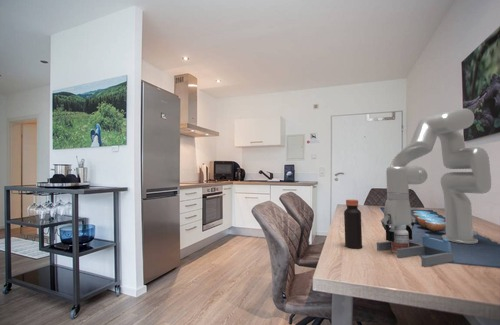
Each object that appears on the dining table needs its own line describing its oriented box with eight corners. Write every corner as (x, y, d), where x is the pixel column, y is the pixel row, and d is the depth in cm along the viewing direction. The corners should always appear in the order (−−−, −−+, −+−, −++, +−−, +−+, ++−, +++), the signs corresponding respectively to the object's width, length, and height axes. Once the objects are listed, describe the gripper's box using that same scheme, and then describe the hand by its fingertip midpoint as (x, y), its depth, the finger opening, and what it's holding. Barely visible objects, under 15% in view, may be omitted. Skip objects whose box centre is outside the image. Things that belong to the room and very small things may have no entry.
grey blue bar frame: (402, 246, 104) (402, 228, 105) (453, 261, 86) (452, 239, 86) (377, 250, 99) (376, 231, 100) (425, 266, 81) (424, 244, 81)
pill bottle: (394, 248, 101) (393, 221, 102) (411, 252, 96) (410, 224, 97) (388, 251, 97) (387, 223, 98) (406, 255, 92) (404, 226, 93)
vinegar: (365, 249, 101) (363, 200, 102) (348, 249, 101) (347, 201, 102) (358, 244, 108) (356, 199, 109) (342, 244, 108) (341, 199, 109)
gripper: (404, 195, 104) (406, 236, 103) (373, 196, 98) (374, 239, 98) (422, 197, 97) (423, 240, 96) (389, 198, 91) (391, 244, 90)
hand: (399, 240), depth 97 cm, fingers open, 9 cm apart
